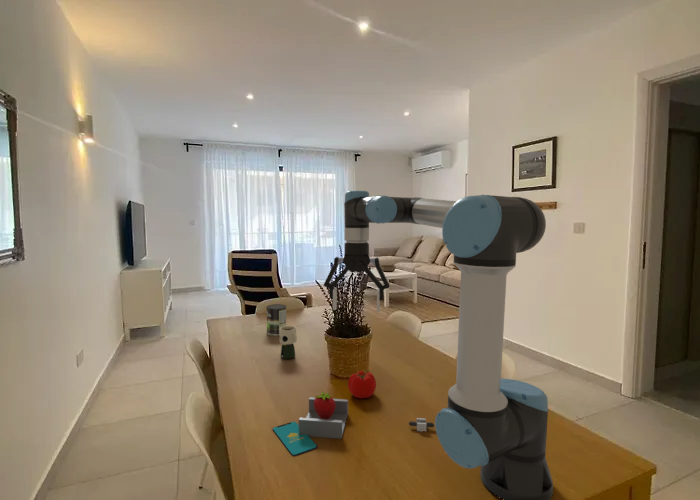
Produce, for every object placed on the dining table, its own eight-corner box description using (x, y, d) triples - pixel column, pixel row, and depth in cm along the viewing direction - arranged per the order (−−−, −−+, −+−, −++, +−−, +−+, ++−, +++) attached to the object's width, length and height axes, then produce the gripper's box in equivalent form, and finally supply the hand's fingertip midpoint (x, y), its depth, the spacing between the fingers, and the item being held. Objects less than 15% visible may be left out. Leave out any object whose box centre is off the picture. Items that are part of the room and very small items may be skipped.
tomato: (377, 391, 134) (377, 370, 134) (372, 403, 126) (372, 380, 125) (351, 388, 137) (352, 367, 136) (344, 399, 128) (344, 377, 128)
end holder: (341, 438, 105) (341, 422, 105) (298, 435, 107) (298, 419, 106) (347, 414, 119) (348, 399, 118) (309, 411, 120) (309, 397, 120)
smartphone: (292, 455, 97) (271, 427, 110) (292, 458, 97) (271, 430, 110) (318, 446, 101) (295, 420, 114) (318, 449, 101) (295, 423, 114)
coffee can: (269, 336, 195) (268, 309, 194) (264, 331, 204) (264, 305, 203) (289, 334, 199) (288, 307, 198) (283, 329, 209) (283, 303, 208)
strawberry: (322, 431, 108) (322, 396, 107) (309, 419, 114) (309, 387, 113) (340, 424, 111) (340, 391, 110) (326, 413, 117) (326, 382, 117)
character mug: (273, 356, 167) (273, 327, 166) (286, 352, 173) (286, 324, 171) (289, 363, 160) (289, 332, 159) (302, 358, 165) (302, 328, 164)
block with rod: (434, 432, 109) (434, 424, 108) (408, 430, 110) (408, 423, 109) (433, 426, 112) (433, 419, 112) (408, 424, 113) (408, 417, 113)
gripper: (397, 241, 120) (396, 308, 122) (319, 240, 123) (319, 305, 125) (397, 243, 113) (396, 314, 115) (314, 242, 116) (314, 311, 118)
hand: (356, 309), depth 120 cm, fingers open, 13 cm apart
